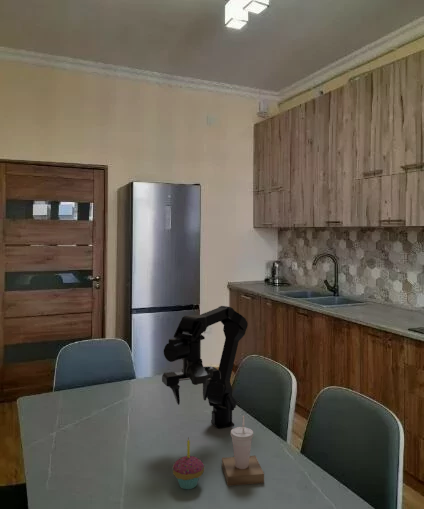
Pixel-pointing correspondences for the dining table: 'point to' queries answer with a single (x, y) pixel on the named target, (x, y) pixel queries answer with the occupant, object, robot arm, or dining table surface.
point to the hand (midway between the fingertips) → (191, 402)
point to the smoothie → (241, 445)
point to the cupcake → (188, 469)
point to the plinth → (242, 472)
